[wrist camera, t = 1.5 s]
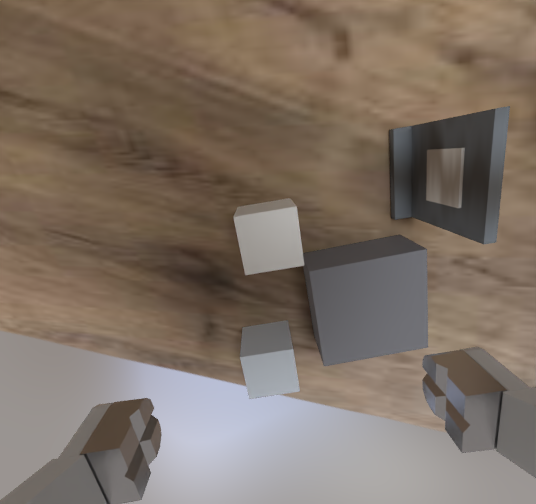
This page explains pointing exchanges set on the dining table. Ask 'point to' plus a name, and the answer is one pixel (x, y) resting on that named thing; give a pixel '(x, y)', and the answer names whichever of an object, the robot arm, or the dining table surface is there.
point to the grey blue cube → (268, 360)
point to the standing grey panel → (451, 173)
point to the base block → (368, 298)
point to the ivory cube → (269, 236)
